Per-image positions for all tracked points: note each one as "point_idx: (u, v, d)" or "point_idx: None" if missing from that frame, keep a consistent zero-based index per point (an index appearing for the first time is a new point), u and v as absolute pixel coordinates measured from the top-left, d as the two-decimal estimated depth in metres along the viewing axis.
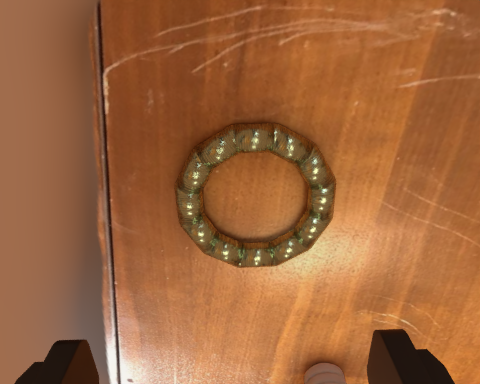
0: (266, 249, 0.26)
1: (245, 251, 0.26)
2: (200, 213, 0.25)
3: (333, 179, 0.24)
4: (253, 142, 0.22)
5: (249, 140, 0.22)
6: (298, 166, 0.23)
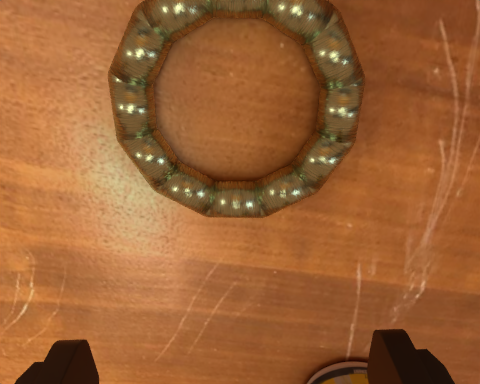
0: (150, 126, 0.16)
1: (145, 91, 0.15)
2: (224, 12, 0.14)
3: None
4: (345, 113, 0.15)
5: (349, 107, 0.15)
6: (293, 172, 0.17)
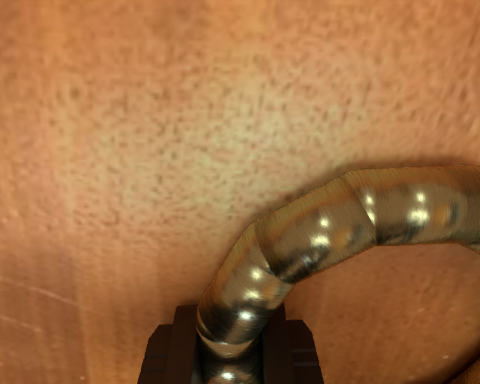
0: None
1: (454, 243, 0.08)
2: None
3: None
4: None
5: None
6: None
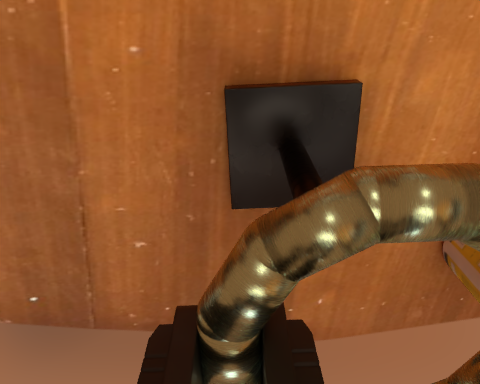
0: None
1: (456, 239, 0.08)
2: None
3: None
4: None
5: None
6: None
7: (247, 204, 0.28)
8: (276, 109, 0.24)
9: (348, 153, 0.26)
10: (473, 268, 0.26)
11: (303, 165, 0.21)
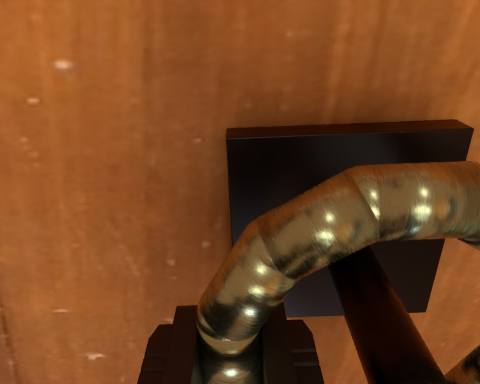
0: None
1: (453, 237, 0.08)
2: None
3: None
4: None
5: None
6: None
7: None
8: (317, 172, 0.14)
9: (433, 240, 0.15)
10: None
11: (382, 304, 0.11)
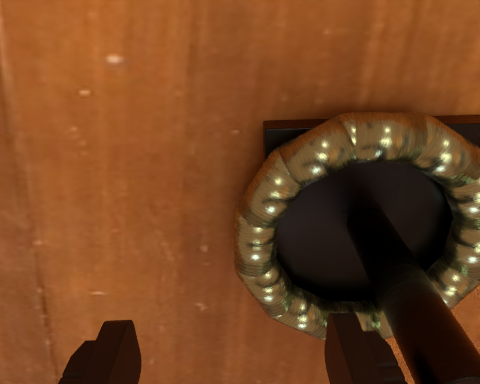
0: (362, 162, 0.13)
1: (406, 161, 0.13)
2: (464, 238, 0.14)
3: (241, 279, 0.16)
4: None
5: None
6: (293, 297, 0.16)
7: None
8: None
9: None
10: None
11: (415, 283, 0.11)
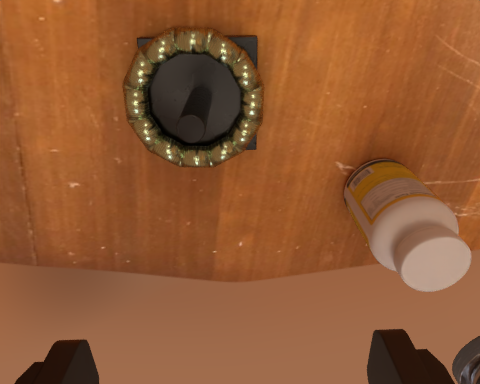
0: (182, 52, 0.26)
1: (203, 52, 0.26)
2: (243, 98, 0.28)
3: (130, 124, 0.29)
4: (196, 161, 0.30)
5: (199, 162, 0.30)
6: (160, 137, 0.29)
7: None
8: (184, 58, 0.28)
9: None
10: (358, 206, 0.30)
11: (193, 101, 0.25)
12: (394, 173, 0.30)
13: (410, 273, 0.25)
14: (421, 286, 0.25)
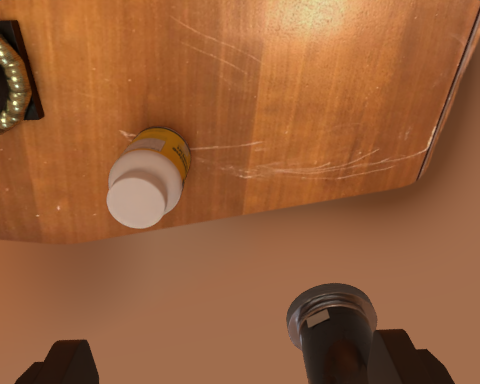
0: None
1: None
2: (4, 73, 0.33)
3: None
4: None
5: None
6: None
7: None
8: None
9: None
10: None
11: None
12: (147, 135, 0.35)
13: (117, 211, 0.29)
14: (131, 223, 0.30)
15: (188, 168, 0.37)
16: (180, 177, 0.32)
